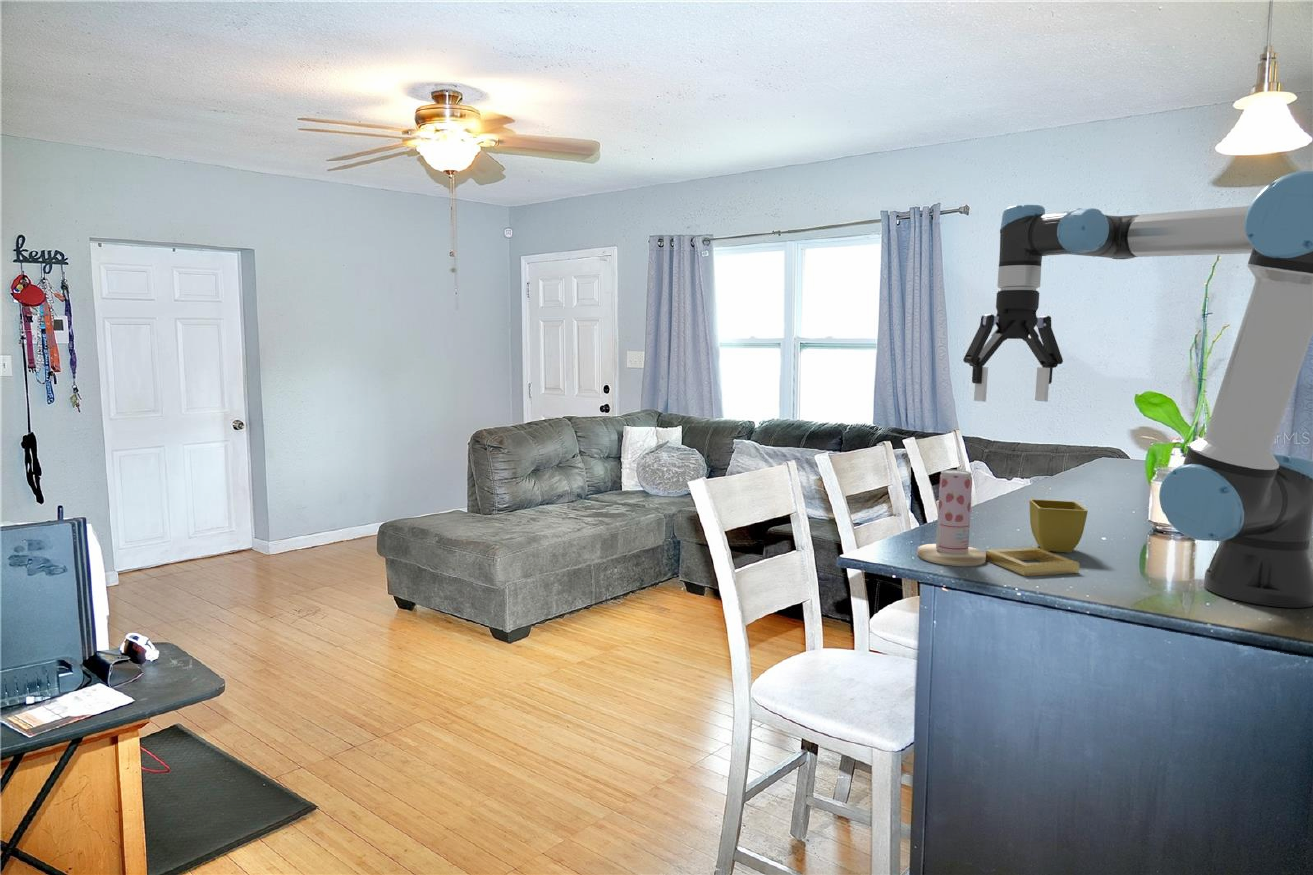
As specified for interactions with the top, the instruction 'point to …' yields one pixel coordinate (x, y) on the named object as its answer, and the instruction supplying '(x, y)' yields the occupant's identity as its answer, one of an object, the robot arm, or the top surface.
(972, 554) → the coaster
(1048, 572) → the square wooden tray
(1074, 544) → the flower pot
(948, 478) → the pink strawberry drink can
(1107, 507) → the top surface
